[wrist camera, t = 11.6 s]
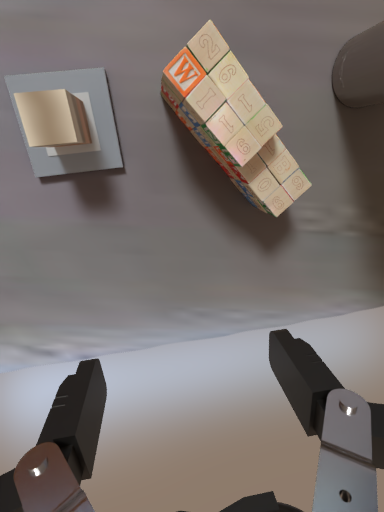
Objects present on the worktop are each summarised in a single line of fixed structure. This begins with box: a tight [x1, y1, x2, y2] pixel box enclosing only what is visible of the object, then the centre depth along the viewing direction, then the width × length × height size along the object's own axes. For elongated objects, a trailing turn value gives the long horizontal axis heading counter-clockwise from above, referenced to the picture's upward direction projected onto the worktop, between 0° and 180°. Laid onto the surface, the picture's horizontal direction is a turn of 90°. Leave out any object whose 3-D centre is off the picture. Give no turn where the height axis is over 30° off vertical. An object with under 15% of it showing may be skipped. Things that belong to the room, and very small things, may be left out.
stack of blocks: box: [161, 20, 311, 217], centre depth 35 cm, size 21×6×12 cm, turn 43°
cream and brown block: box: [13, 89, 92, 147], centre depth 32 cm, size 5×5×8 cm
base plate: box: [4, 67, 124, 177], centre depth 36 cm, size 12×12×1 cm
